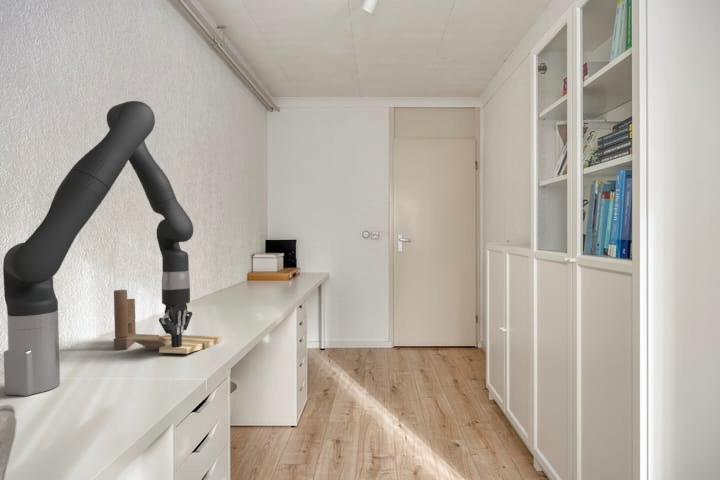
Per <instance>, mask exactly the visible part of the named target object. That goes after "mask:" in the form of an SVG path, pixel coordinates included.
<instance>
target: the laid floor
mask: <svg viewBox="0 0 720 480" xmlns="http://www.w3.org/2000/svg"><path fill="white" fill-rule="evenodd" d="M160 336H161V337H163V338H165V339H167V340H168V341H170V342H171V335H170V334H164V335H160ZM219 341H221V342H222V336H221V335H191V334H190V335H187V334H182V343H194V344H202V349H201V350H207V349H209V348H210V346H211V347H213V346H215V345H216V344H215V343H217V342H219ZM219 343H220V342H219ZM214 344H215V345H214ZM217 344H218V343H217ZM212 345H213V346H212ZM208 347H209V348H208ZM148 348H151V349H153V348H154V349H155V348H157V349H159V347H148ZM206 348H207V349H206Z"/></svg>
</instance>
